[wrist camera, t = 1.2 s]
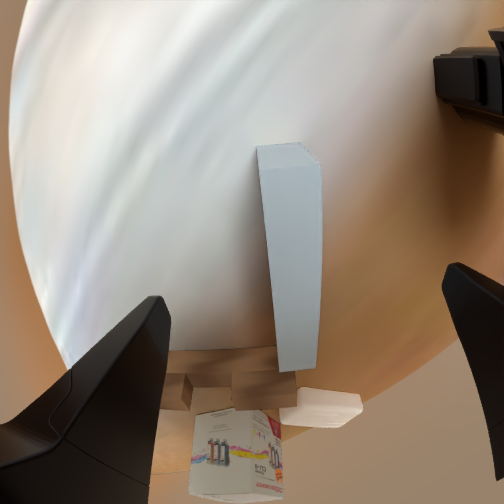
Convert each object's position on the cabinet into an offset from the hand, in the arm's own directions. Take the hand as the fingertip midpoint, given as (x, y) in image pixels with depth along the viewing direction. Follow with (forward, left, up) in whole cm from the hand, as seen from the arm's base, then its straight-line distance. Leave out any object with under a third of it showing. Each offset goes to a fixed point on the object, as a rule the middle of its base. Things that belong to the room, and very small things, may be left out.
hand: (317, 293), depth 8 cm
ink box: (+7, +30, -10) cm, 32 cm away
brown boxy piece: (+7, +15, -9) cm, 19 cm away
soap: (-3, +26, -10) cm, 28 cm away
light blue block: (0, +4, -9) cm, 10 cm away
